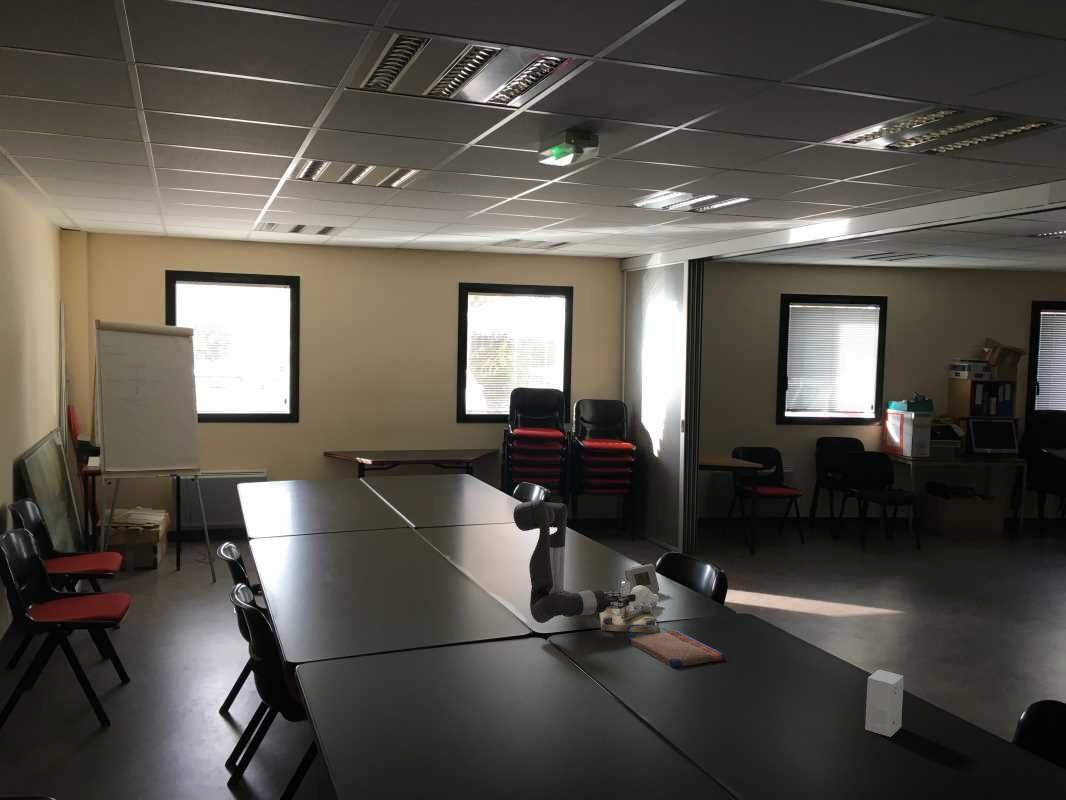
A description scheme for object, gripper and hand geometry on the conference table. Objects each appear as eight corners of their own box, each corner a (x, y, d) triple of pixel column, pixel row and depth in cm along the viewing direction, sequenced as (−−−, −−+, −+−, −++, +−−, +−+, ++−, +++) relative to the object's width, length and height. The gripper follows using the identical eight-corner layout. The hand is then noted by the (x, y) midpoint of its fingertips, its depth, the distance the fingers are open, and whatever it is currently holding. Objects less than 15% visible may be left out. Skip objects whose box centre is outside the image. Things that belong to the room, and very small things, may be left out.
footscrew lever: (641, 607, 295) (642, 572, 295) (653, 610, 292) (655, 575, 292) (615, 618, 282) (616, 581, 281) (628, 621, 279) (629, 584, 278)
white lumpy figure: (629, 584, 304) (653, 582, 311) (626, 607, 304) (650, 605, 311) (641, 588, 299) (665, 587, 306) (639, 611, 299) (662, 610, 306)
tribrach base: (601, 630, 277) (601, 619, 277) (599, 613, 295) (599, 603, 295) (657, 632, 277) (657, 622, 277) (651, 616, 295) (651, 606, 295)
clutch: (675, 672, 245) (727, 662, 254) (675, 655, 244) (728, 646, 254) (619, 641, 269) (669, 633, 279) (620, 626, 269) (670, 618, 278)
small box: (875, 719, 214) (878, 668, 214) (901, 727, 210) (904, 675, 210) (864, 729, 208) (867, 677, 208) (891, 737, 204) (894, 684, 204)
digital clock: (631, 600, 314) (632, 571, 313) (616, 594, 321) (617, 566, 321) (665, 595, 322) (666, 567, 322) (649, 589, 330) (651, 562, 329)
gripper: (602, 596, 267) (645, 590, 276) (577, 585, 279) (619, 579, 288) (601, 620, 268) (644, 613, 277) (576, 608, 280) (618, 601, 289)
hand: (631, 596), depth 283 cm, fingers closed on footscrew lever, 3 cm apart
